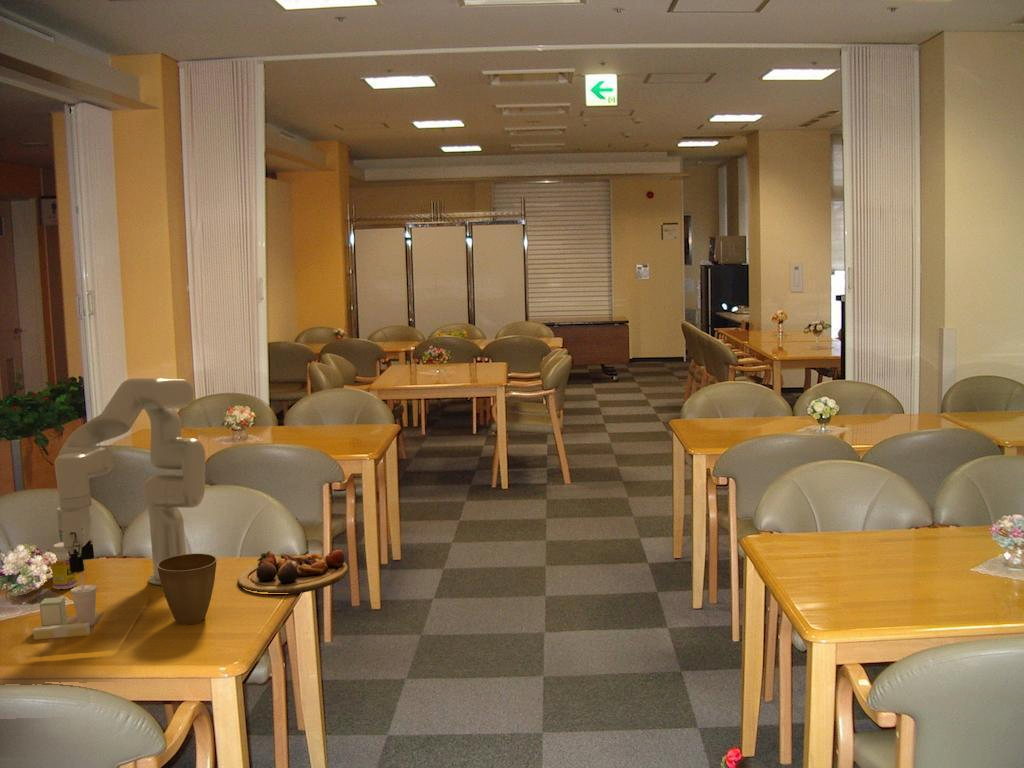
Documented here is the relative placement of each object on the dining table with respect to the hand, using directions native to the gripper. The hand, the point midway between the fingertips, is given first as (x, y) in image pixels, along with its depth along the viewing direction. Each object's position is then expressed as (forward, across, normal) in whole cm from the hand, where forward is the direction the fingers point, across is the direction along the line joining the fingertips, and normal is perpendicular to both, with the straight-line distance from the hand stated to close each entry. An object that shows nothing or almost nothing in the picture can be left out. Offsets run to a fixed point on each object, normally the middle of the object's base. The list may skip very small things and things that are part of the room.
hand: (82, 565), depth 262 cm
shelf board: (+17, +1, -4) cm, 17 cm away
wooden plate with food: (+19, -28, +50) cm, 61 cm away
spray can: (+18, -52, -18) cm, 58 cm away
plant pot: (+17, +1, +26) cm, 31 cm away
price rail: (+16, +8, -4) cm, 19 cm away
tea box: (+16, +1, -8) cm, 18 cm away
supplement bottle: (+18, -36, -16) cm, 43 cm away
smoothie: (+16, +1, 0) cm, 16 cm away
